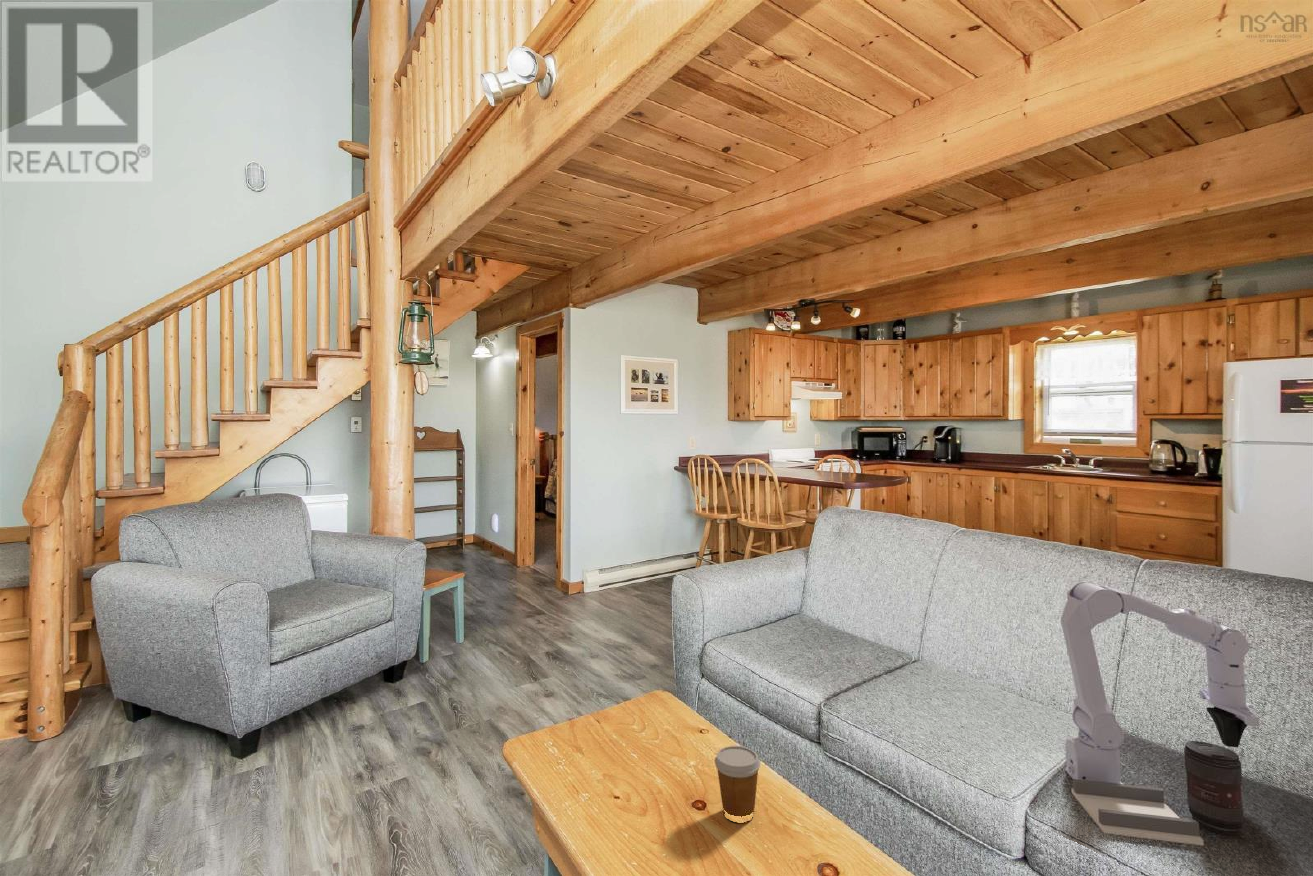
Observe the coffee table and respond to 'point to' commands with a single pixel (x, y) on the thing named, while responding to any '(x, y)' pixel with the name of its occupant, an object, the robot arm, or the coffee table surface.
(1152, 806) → the lens cradle
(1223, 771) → the dark patterned cylinder
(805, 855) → the coffee table surface
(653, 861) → the coffee table surface
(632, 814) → the coffee table surface
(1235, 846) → the coffee table surface
